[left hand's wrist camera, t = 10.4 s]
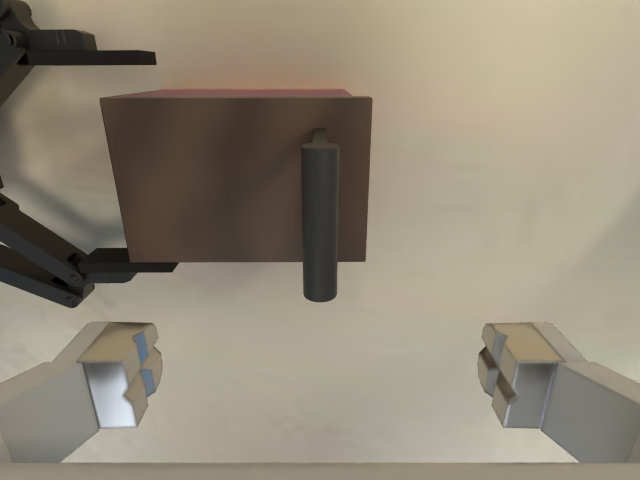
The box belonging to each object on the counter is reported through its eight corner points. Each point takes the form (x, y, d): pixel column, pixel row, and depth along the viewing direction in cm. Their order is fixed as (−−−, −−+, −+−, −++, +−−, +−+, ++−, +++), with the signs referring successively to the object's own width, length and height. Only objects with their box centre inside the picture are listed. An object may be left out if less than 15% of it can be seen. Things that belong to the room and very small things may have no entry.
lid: (370, 96, 24) (395, 109, 16) (363, 254, 28) (382, 329, 20) (109, 96, 24) (3, 110, 16) (137, 254, 28) (62, 330, 20)
